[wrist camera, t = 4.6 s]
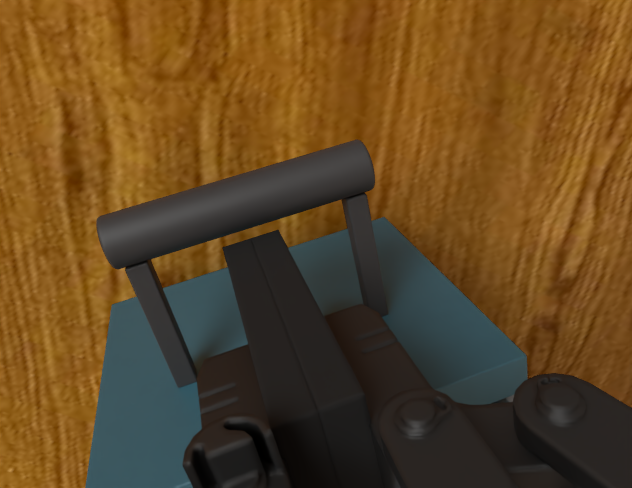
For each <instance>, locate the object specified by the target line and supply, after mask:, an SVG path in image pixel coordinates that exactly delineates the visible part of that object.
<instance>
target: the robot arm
mask: <svg viewBox="0 0 632 488" xmlns="http://www.w3.org/2000/svg"><path fill="white" fill-rule="evenodd" d="M223 251H224V255H225V259H226V262H227V266H228V270H229V274H230V277H231V281H232V285H233V289H234V292H235V296H236V300H237V304H238V308H239V311H240V315H241V319H242V323H243V326H244V330H245V334H246V338H247V341H248V344H247V345H244V346H241V347H238V348H235V349H232V350H230V351H227V352H224V353H221V354H218V355H215V356H212V357H209V358H206V359H204V362H203V364H202V366H201V369H200V371H199V373H198V376H197V388H198V396H199V407H200V413H201V415H200V416H201V426H202V429H201V430H200V431H199V432H198V433H197V434H196V435H195V436H193V438H192V440H191V441H190V443H189V445H188V446H187V448H186V450H185V453H184V458H183V464H182V466H183V468H184V470H185V472H186V474H187V476H188V478H189V480H190V482H191V484H192V486H193V488H632V408H631V407H629V406H627V405H626V404H624V403H622V402H621V401H619V400H617V399H616V398H614V397H612V396H611V395H609V394H607V393H605V392H604V391H602V390H600V389H599V388H597V387H595V386H594V385H592V384H590V383H588V382H586V381H584V380H581V379H579V378H577V377H574V376H570V375H564V374H557V373H552V374H542V375H537V376H535V377H532V378H530V379H527V380H525V381H524V382H523V383H522V384H521V385H520V386H519V387H518V388H517V389H516V390H515V394H514V398H513V402H506V403H495V404H485V405H469V404H463V403H457V402H455V401H453V400H452V399H451V398H450V397H449V396H448V395H447V394H444V393H442V392H439V391H437V390H434V389H433V388H432V387H431V386H430V384H429V383H428V382H427V380H426V379H425V377H424V376H423V375H422V373H421V372H420V370H419V369H418V367H417V366H416V365H415V363H414V362H413V360H412V359H411V358H410V356H409V355H408V353H407V352H406V351H405V349H404V348H403V346H402V345H401V343H400V342H398V340H397V338H396V336H395V335H394V334H393V332H392V331H391V329H389V327H388V325H387V324H386V322H385V321H384V319H383V318H382V317H381V315H380V314H379V312H377V311H375V310H373V309H371V308H369V307H367V306H365V305H363V304H361V303H360V304H358V305H355V306H352V307H349V308H346V309H343V310H340V311H337V312H334V313H332V314H329V315H326V316H323V314H322V312H321V310H320V308H319V306H318V304H317V302H316V301H315V299H314V297H313V295H312V293H311V291H310V289H309V287H308V285H307V284H306V282H305V280H304V278H303V276H302V274H301V272H300V270H299V268H298V266H297V265H296V263H295V261H294V259H293V257H292V255H291V253H290V251H289V249H288V247H287V246H286V244H285V242H284V240H283V238H282V236H281V234H280V232H279V230H276V231H273V232H270V233H267V234H264V235H260V236H257V237H254V238H251V239H248V240H245V241H242V242H238V243H235V244H232V245H229V246H226V247H223Z"/></svg>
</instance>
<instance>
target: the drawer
mask: <svg viewBox="0 0 632 488" xmlns="http://www.w3.org/2000/svg"><path fill="white" fill-rule="evenodd" d="M374 185H375V175H374V168H373V164H372V161H371V158H370V155H369V153H368V151H367V149H366V147H365V145H364V144H363V143H362V142H361V141H360V140H354V141H350V142H347V143H344V144H340V145H337V146H334V147H330V148H327V149H324V150H320V151H317V152H313V153H310V154H307V155H303V156H300V157H297V158H293V159H290V160H287V161H283V162H280V163H277V164H273V165H270V166H267V167H263V168H260V169H256V170H253V171H250V172H246V173H243V174H240V175H236V176H233V177H230V178H226V179H223V180H220V181H216V182H213V183H210V184H206V185H203V186H199V187H196V188H193V189H189V190H186V191H183V192H179V193H176V194H173V195H169V196H166V197H163V198H159V199H156V200H152V201H149V202H146V203H142V204H139V205H136V206H132V207H129V208H126V209H122V210H119V211H116V212H112V213H109V214H106V215H102V216H100V217H98V218H97V233H98V237H99V241H100V244H101V247H102V249H103V252H104V254H105V256H106V258H107V260H108V261H109V263H110V264H111V265H112V267H113V268H115V269H121V268H124V267H126V269H125V271H126V273H127V276H128V278H129V280H130V282H131V284H132V287H133V289H134V291H135V293H136V296H137V297H134V298H131V299H128V300H125V301H122V302H119V303H115V304H113V305H112V308H111V315H110V322H109V329H108V336H107V343H106V350H105V357H104V363H103V370H102V377H101V384H100V391H99V398H98V405H97V412H96V419H95V426H94V432H93V439H92V446H91V453H90V460H89V467H88V474H87V481H86V488H193V486H192V484H191V482H190V480H189V478H188V476H187V474H186V472H185V470H184V468H183V466H182V464H183V458H184V453H185V450H186V448H187V446H188V445H189V443H190V441H191V440H192V438H193V436H195V435H196V434H197V433H198V432H199V431H200V430H201V429H202V426H201V416H200V415H201V413H200V407H199V396H198V388H197V376H198V373H199V371H200V369H201V366H202V364H203V362H204V359H206V358H209V357H212V356H215V355H218V354H221V353H224V352H227V351H230V350H232V349H235V348H238V347H241V346H244V345H247V344H248V341H247V338H246V334H245V330H244V326H243V323H242V319H241V315H240V311H239V308H238V304H237V300H236V296H235V292H234V289H233V285H232V281H231V277H230V274H229V270H228V267H227V268H224V269H221V270H218V271H215V272H212V273H209V274H205V275H202V276H199V277H196V278H193V279H190V280H187V281H184V282H181V283H178V284H174V285H171V286H168V287H165V288H162V286H161V283H160V281H159V278H158V276H157V274H156V271H155V269H154V266H153V264H152V262H151V259H153V258H156V257H159V256H162V255H165V254H169V253H172V252H175V251H178V250H181V249H185V248H188V247H191V246H194V245H197V244H200V243H204V242H207V241H210V240H213V239H216V238H220V237H223V236H226V235H229V234H232V233H236V232H239V231H242V230H245V229H248V228H252V227H255V226H258V225H261V224H264V223H267V222H271V221H274V220H277V219H280V218H283V217H287V216H290V215H293V214H296V213H299V212H303V211H306V210H309V209H312V208H315V207H319V206H322V205H325V204H328V203H331V202H334V201H338V200H341V199H342V204H343V208H344V213H345V218H346V223H347V227H348V229H345V230H342V231H339V232H336V233H333V234H330V235H327V236H323V237H320V238H317V239H314V240H311V241H308V242H305V243H302V244H299V245H295V246H292V247H289V248H288V249H289V251H290V253H291V255H292V257H293V259H294V261H295V263H296V265H297V266H298V268H299V270H300V272H301V274H302V276H303V278H304V280H305V282H306V284H307V285H308V287H309V289H310V291H311V293H312V295H313V297H314V299H315V301H316V302H317V304H318V306H319V308H320V310H321V312H322V314H323V316H326V315H329V314H332V313H334V312H337V311H340V310H343V309H346V308H349V307H352V306H355V305H358V304H360V303H361V304H363V305H365V306H367V307H369V308H371V309H373V310H375V311H377V312H379V314H380V315H381V317H382V318H383V319H384V321H385V322H386V324H387V325H388V327H389V329H391V331H392V332H393V334H394V335H395V336H396V338H397V340H398V342H400V343H401V345H402V346H403V348H404V349H405V351H406V352H407V353H408V355H409V356H410V358H411V359H412V360H413V362H414V363H415V365H416V366H417V367H418V369H419V370H420V372H421V373H422V375H423V376H424V377H425V379H426V380H427V382H428V383H429V384H430V386H431V387H432V388H433V389H434V390H437V391H439V392H442V393H444V394H447V395H448V396H449V397H450V398H451V399H452V400H453V401H455V402H457V403H463V404H469V405H485V404H491V403H494V402H496V401H499V400H501V399H504V398H507V397H509V396H512V395H514V394H515V390H516V389H517V388H518V387H519V386H520V385H521V384H522V383H523V382H524V381H525V380H527V379H528V377H527V356H526V354H524V353H523V352H522V351H521V350H520V349H519V348H518V347H517V346H516V345H515V344H514V343H513V342H512V341H511V340H510V339H509V338H508V337H507V336H506V335H505V334H504V333H503V332H502V331H501V330H500V329H499V328H498V327H497V326H496V325H495V324H494V323H493V322H492V321H491V320H490V319H489V318H488V317H486V316H485V315H484V314H483V313H482V312H481V311H480V310H479V309H478V308H477V307H476V306H475V305H474V304H473V303H472V302H471V301H470V300H469V299H468V298H467V297H466V296H465V295H464V294H463V293H462V292H461V291H460V290H459V289H458V288H457V287H456V286H455V285H454V284H453V283H452V282H451V281H450V280H449V279H447V278H446V277H445V276H444V275H443V274H442V273H441V272H440V271H439V270H438V269H437V268H436V267H435V266H434V265H433V264H432V263H431V262H430V261H429V260H428V259H427V258H426V257H425V256H424V255H423V254H422V253H421V252H420V251H419V250H418V249H417V248H416V247H415V246H414V245H413V244H412V243H411V242H409V241H408V240H407V239H406V238H405V237H404V236H403V235H402V234H401V233H400V232H399V231H398V230H397V229H396V228H395V227H394V226H393V225H392V224H391V223H390V222H389V221H388V220H387V219H386V218H385V217H382V218H379V219H376V220H373V221H371V216H370V211H369V205H368V200H367V195H366V194H365V193H364V192H366V191H370V190H372V189H373V188H374Z"/></svg>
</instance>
